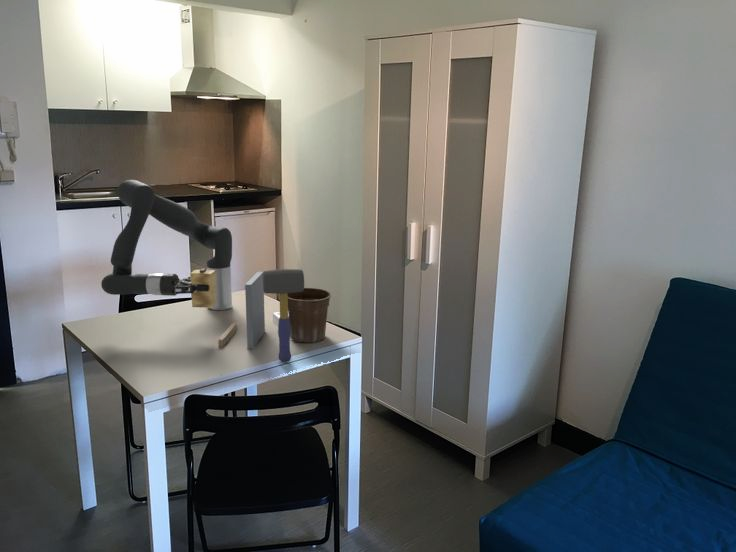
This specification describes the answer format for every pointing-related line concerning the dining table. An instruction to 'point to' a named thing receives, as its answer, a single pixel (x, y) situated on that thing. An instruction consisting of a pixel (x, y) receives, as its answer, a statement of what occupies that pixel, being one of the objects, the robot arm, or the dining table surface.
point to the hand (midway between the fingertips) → (211, 285)
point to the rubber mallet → (283, 302)
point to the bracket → (277, 317)
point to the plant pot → (308, 314)
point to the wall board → (250, 313)
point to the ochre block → (204, 297)
